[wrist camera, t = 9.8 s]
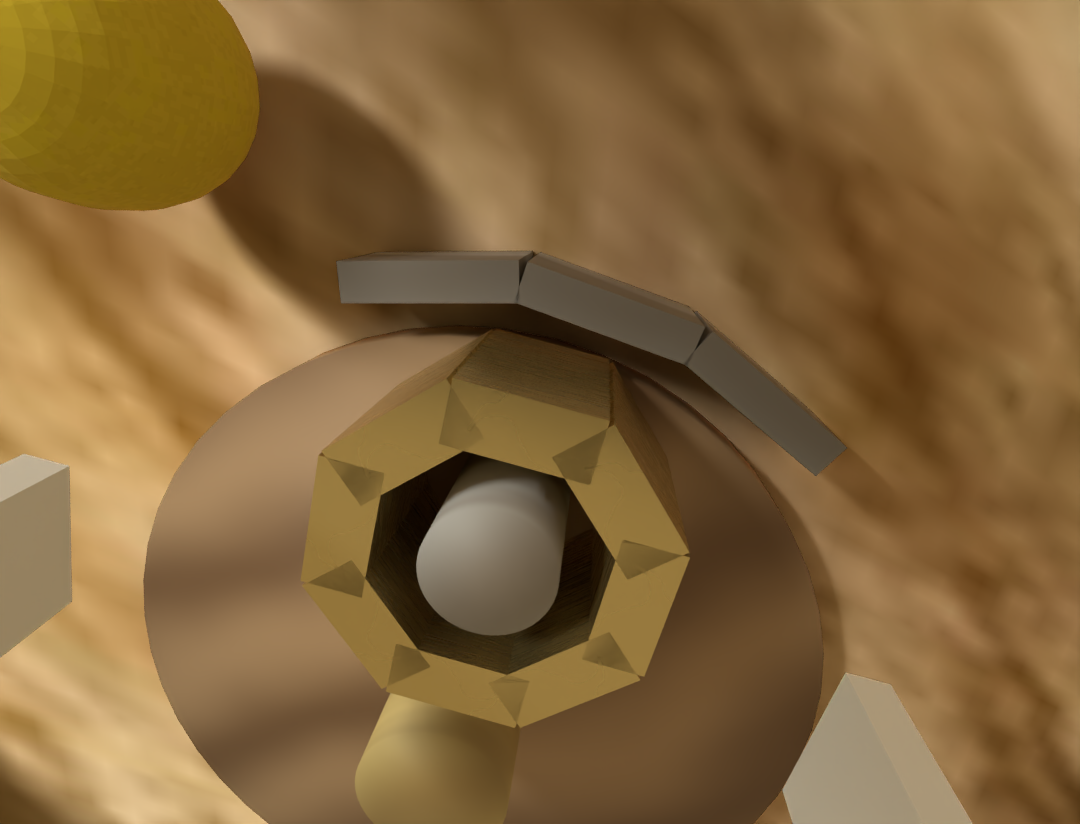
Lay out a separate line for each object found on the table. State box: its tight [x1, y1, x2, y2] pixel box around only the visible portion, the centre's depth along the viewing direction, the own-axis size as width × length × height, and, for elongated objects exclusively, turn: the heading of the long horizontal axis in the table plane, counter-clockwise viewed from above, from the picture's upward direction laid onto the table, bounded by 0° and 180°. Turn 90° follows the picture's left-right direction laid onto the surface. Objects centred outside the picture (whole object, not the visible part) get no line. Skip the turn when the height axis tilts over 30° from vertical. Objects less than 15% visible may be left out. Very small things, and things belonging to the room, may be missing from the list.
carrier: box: [144, 251, 847, 824], centre depth 18 cm, size 23×24×7 cm
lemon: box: [0, 0, 260, 211], centre depth 13 cm, size 6×6×8 cm
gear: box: [300, 329, 690, 728], centre depth 16 cm, size 8×8×5 cm
